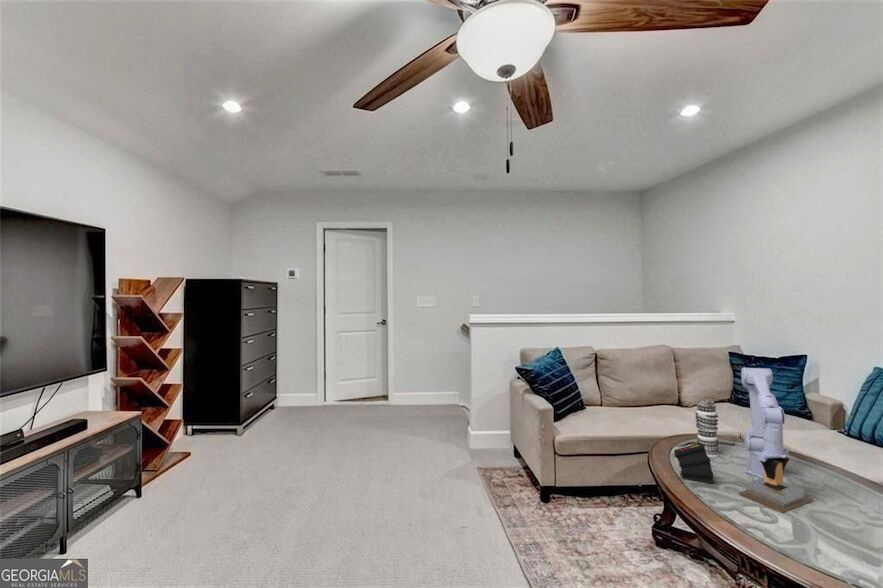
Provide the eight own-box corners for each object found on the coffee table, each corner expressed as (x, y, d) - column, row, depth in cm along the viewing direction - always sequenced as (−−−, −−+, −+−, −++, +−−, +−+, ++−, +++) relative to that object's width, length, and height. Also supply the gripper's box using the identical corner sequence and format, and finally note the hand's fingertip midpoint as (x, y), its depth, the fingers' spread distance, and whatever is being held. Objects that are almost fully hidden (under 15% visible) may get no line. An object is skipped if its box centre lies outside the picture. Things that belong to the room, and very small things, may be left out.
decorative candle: (721, 452, 194) (719, 400, 194) (717, 459, 187) (715, 404, 187) (698, 448, 200) (697, 397, 200) (694, 454, 193) (692, 401, 193)
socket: (769, 485, 161) (768, 473, 161) (812, 501, 148) (812, 488, 148) (739, 495, 155) (739, 483, 155) (782, 512, 142) (781, 499, 142)
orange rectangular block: (771, 480, 154) (770, 458, 155) (783, 484, 151) (782, 462, 151) (764, 482, 153) (763, 460, 153) (776, 486, 149) (775, 464, 149)
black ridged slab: (722, 482, 162) (702, 445, 165) (688, 490, 168) (668, 454, 171) (722, 478, 165) (701, 442, 168) (688, 486, 171) (669, 451, 175)
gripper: (773, 447, 145) (774, 485, 145) (797, 440, 151) (799, 477, 151) (751, 440, 152) (753, 477, 152) (776, 434, 157) (777, 469, 157)
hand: (774, 476), depth 152 cm, fingers closed on orange rectangular block, 4 cm apart
